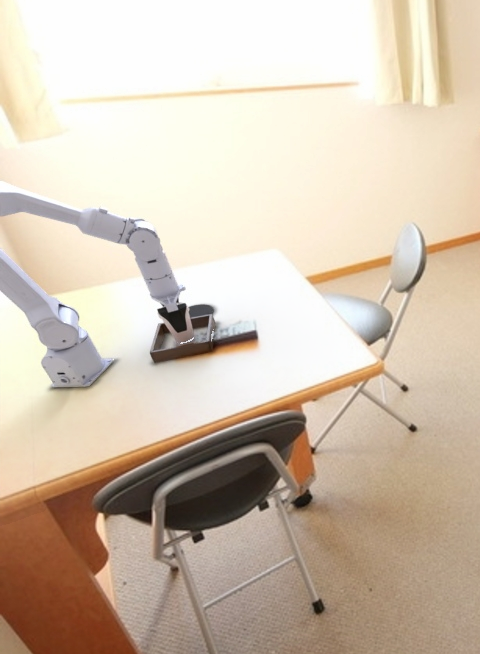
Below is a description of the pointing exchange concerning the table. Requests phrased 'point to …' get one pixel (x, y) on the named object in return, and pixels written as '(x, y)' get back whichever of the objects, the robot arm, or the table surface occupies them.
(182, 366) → the table surface
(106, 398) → the table surface
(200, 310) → the coaster
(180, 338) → the smoothie
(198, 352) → the box
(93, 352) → the robot arm
